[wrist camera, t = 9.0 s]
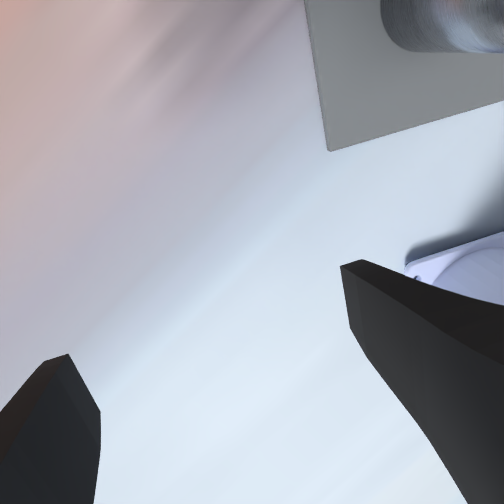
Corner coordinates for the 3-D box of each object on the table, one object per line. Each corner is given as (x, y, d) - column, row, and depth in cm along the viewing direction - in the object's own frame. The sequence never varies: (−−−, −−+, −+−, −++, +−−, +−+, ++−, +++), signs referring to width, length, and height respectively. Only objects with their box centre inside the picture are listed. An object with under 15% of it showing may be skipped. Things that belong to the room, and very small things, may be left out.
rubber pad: (521, 92, 21) (527, 93, 21) (327, 150, 20) (330, 151, 20) (533, -178, 17) (542, -183, 16) (285, -119, 16) (288, -123, 15)
